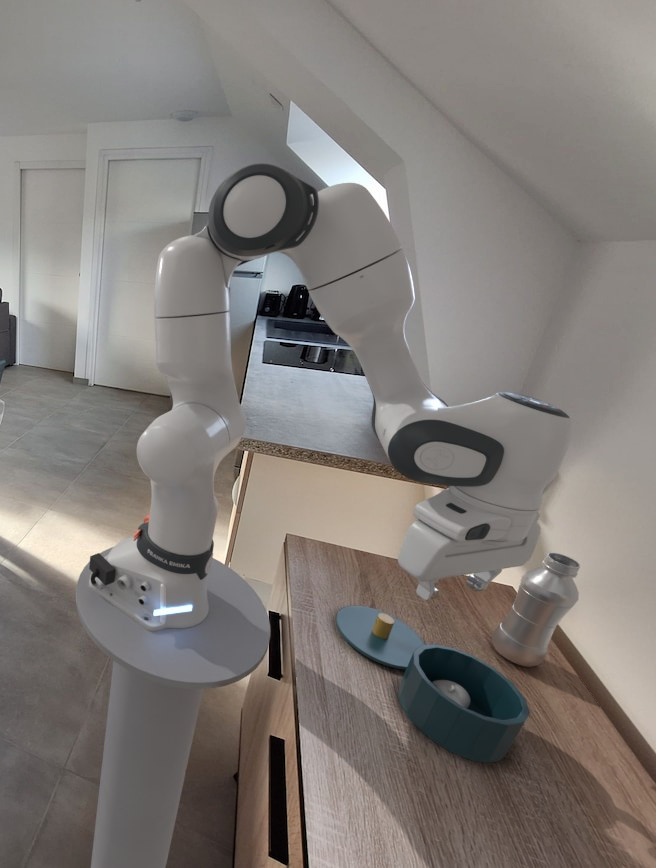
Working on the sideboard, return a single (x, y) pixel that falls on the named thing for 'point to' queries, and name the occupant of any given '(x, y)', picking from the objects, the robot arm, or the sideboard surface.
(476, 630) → the sideboard surface
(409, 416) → the robot arm
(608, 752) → the sideboard surface
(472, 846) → the sideboard surface
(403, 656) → the tin lid
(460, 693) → the pale two-lobed sculpture
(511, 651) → the silver bottle
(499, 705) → the tin
